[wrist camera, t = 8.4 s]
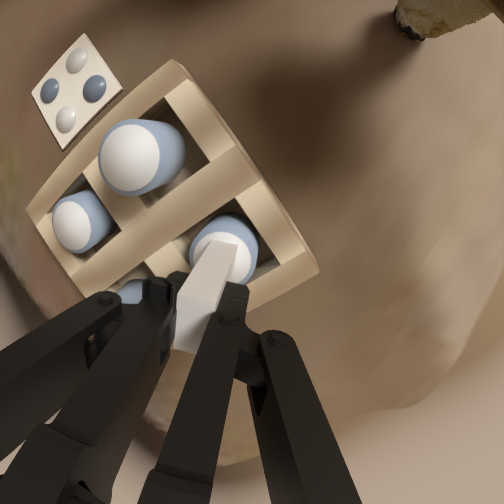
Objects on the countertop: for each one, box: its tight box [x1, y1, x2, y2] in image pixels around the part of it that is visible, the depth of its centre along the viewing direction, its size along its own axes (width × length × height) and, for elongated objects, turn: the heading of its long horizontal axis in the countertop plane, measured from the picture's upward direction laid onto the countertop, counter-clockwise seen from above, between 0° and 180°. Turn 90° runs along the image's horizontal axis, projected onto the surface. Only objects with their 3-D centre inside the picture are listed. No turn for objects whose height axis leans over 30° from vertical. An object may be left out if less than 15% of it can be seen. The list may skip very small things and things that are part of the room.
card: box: [31, 33, 123, 149], centre depth 18 cm, size 7×7×1 cm
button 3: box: [116, 279, 144, 304], centre depth 19 cm, size 4×4×4 cm
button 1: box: [52, 188, 118, 253], centre depth 20 cm, size 4×4×4 cm
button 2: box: [98, 119, 187, 196], centre depth 16 cm, size 4×4×4 cm
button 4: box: [189, 212, 260, 284], centre depth 20 cm, size 4×4×4 cm
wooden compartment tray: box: [26, 59, 320, 351], centre depth 20 cm, size 16×16×3 cm
